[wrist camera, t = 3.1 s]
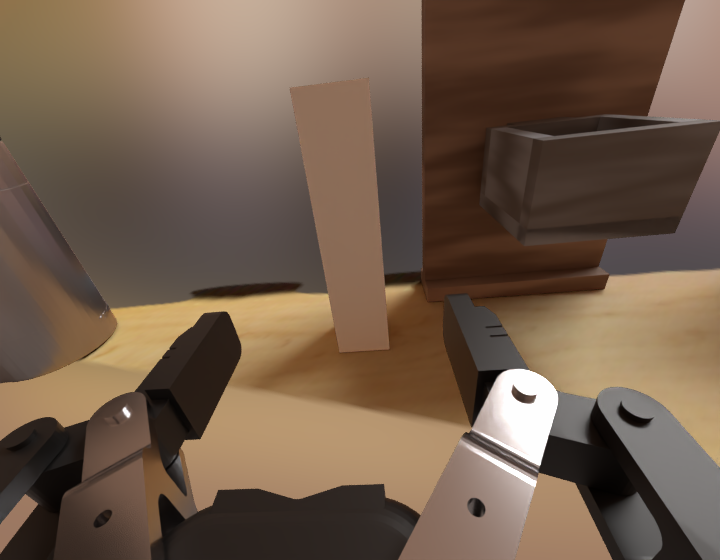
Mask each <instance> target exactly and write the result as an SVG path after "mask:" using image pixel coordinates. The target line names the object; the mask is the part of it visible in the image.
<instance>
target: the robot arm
mask: <svg viewBox="0 0 720 560" xmlns="http://www.w3.org/2000/svg"><path fill="white" fill-rule="evenodd" d="M0 140H1V137H0ZM116 327H117V320H116V318H115V316H114V315H113V313H112V312H111V310H110V308H109V306H108V304H107V303H106V301H104V299H103V298H102V296H101V295H100V293H99V291H98V290H97V288H96V286H95V285H94V283H93V282H92V281H91V279H90V277H89V275H88V274H87V272H86V271H85V269H84V268H83V266H82V264H81V263H80V262H79V260H78V258H77V257H76V255H75V254H74V252H73V251H72V249H71V247H70V246H69V244H68V243H67V241H66V240H65V238H64V236H63V235H62V233H61V232H60V230H59V229H58V227H57V225H56V224H55V222H54V221H53V219H52V218H51V216H50V215H49V213H48V211H47V210H46V208H45V207H44V205H43V204H42V202H41V201H40V199H39V197H38V196H37V194H36V193H35V191H34V190H33V188H32V186H31V185H30V184H29V182H28V180H27V179H26V177H25V176H24V174H23V172H22V171H21V169H20V168H19V166H18V165H17V163H16V161H15V160H14V158H13V157H12V155H11V154H10V152H9V150H8V149H7V147H6V146H5V144H4V143H3V142H0V383H5V382H18V381H24V380H29V379H33V378H36V377H39V376H42V375H45V374H48V373H51V372H53V371H56V370H59V369H61V368H63V367H65V366H67V365H69V364H71V363H73V362H75V361H77V360H79V359H80V358H82V357H84V356H86V355H87V354H89V353H90V352H92V351H93V350H95V349H96V348H98V347H99V346H100V345H101V344H102V343H104V342H105V341H106V340H107V339H108V338H109V337H110V336H111V335H112V334H113V332H114V331H115V329H116ZM443 337H444V343H445V347H446V350H447V353H448V356H449V359H450V362H451V365H452V369H453V372H454V375H455V378H456V381H457V384H458V387H459V390H460V393H461V397H462V400H463V403H464V406H465V409H466V412H467V415H468V418H469V421H470V425H471V427H472V429H471V431H470V433H467V432H466V433H464V434H463V436H462V437H461V439H460V440H459V442H458V444H457V446H456V448H455V450H454V452H453V454H452V456H451V458H450V460H449V462H448V464H447V466H446V468H445V470H444V471H443V473H442V475H441V477H440V479H439V481H438V483H437V485H436V487H435V489H434V491H433V493H432V495H431V497H430V499H429V501H428V502H427V504H426V506H425V508H424V510H423V512H422V514H421V515H419V514H418V513H417V512H416V511H414V510H413V509H411V508H409V507H408V506H406V505H404V504H402V503H400V502H398V501H395V500H392V499H389V498H386V497H385V490H384V484H374V485H349V486H348V485H347V486H340V487H336V488H333V489H330V490H327V491H324V492H321V493H318V494H315V495H312V496H309V497H306V498H303V499H292V498H288V497H285V496H281V495H278V494H274V493H271V492H267V491H264V490H261V489H235V490H218V492H217V495H216V498H215V500H214V503H213V505H212V506H210V507H208V508H205V509H203V510H201V511H199V512H198V511H197V508H196V506H195V503H194V499H193V494H192V490H191V485H190V481H189V476H188V471H187V467H186V462H185V457H184V453H183V451H182V450H181V448H180V447H181V446H182V444H183V442H184V440H194V439H201V437H202V435H203V433H204V431H205V429H206V427H207V425H208V423H209V420H210V418H211V416H212V414H213V412H214V410H215V408H216V406H217V404H218V402H219V400H220V398H221V396H222V394H223V392H224V390H225V388H226V386H227V384H228V382H229V380H230V378H231V376H232V374H233V372H234V370H235V368H236V366H237V364H238V362H239V360H240V357H241V343H240V340H239V338H238V335H237V333H236V330H235V328H234V325H233V323H232V320H231V318H230V315H229V314H228V313H227V312H212V313H204V314H203V315H202V316H201V317H200V318H199V320H198V321H197V322H196V324H195V325H194V326H193V327H191V328H190V329H188V330H187V331H186V332H184V333H183V334H182V335H180V336H179V337H178V338H177V339H176V340H175V342H174V343H173V344H172V345H171V347H170V350H167V352H166V353H165V354H164V355H163V357H162V359H160V360H159V362H158V363H157V364H156V365H155V367H154V368H153V369H152V370H151V372H150V373H149V374H148V375H147V377H146V378H145V379H144V380H143V382H142V383H141V384H140V386H139V387H138V388H137V389H136V390H135V392H130V393H126V394H123V395H120V396H118V397H116V398H114V399H112V400H110V401H109V402H107V403H106V404H104V405H103V406H102V407H101V408H99V409H98V410H97V411H96V412H95V413H94V415H93V416H92V417H91V418H90V420H88V421H84V422H81V423H78V424H75V425H72V426H69V427H65V428H64V427H63V426H62V425H61V424H60V423H59V422H58V421H57V420H56V419H54V418H51V417H45V418H40V419H37V420H34V421H31V422H29V423H27V424H25V425H23V426H21V427H19V428H18V429H16V430H14V431H13V432H11V433H10V434H9V435H7V436H6V437H5V438H3V439H2V440H1V441H0V524H1V522H2V521H3V520H4V519H5V518H6V516H7V515H8V514H9V513H10V511H11V510H12V509H13V508H14V507H15V505H16V504H17V503H18V502H19V501H20V499H21V498H22V497H23V496H24V495H25V494H26V495H28V496H29V497H30V498H32V499H33V500H34V501H35V502H37V503H38V505H37V507H36V508H35V509H34V510H33V512H32V513H31V514H30V516H29V517H28V519H27V520H26V521H25V522H24V524H23V525H22V526H21V527H20V529H19V530H18V531H17V533H16V534H15V535H14V537H13V538H12V539H11V540H10V542H9V543H8V544H7V546H6V547H5V548H4V550H3V551H2V553H1V554H0V560H515V557H516V553H517V549H518V546H519V542H520V539H521V535H522V532H523V528H524V524H525V520H526V517H527V513H528V510H529V506H530V503H531V499H532V495H533V492H534V488H535V485H536V481H537V477H538V473H542V474H546V475H549V476H553V477H556V478H560V479H563V480H567V481H570V482H574V483H576V485H577V487H578V489H579V491H580V494H581V495H582V498H583V500H584V501H585V504H586V506H587V508H588V510H589V512H590V514H591V516H592V518H593V520H594V522H595V524H596V526H597V529H598V531H599V532H600V535H601V537H602V539H603V541H604V543H605V545H606V547H607V549H608V551H609V553H610V555H611V557H612V559H613V560H720V467H719V466H718V465H717V464H716V463H715V462H714V461H713V460H712V459H711V457H710V456H709V455H708V454H707V453H706V452H705V451H704V450H703V448H702V447H701V446H700V445H699V444H698V443H697V442H696V441H695V440H694V438H693V437H692V436H691V435H690V434H689V433H688V432H687V431H686V430H685V428H684V427H683V426H682V425H681V424H680V423H679V422H678V421H677V420H676V418H675V417H674V416H673V415H672V414H671V413H670V412H669V411H668V410H667V409H666V408H665V407H664V406H663V405H662V404H660V403H659V402H657V401H656V400H654V399H653V398H651V397H649V396H647V395H645V394H643V393H641V392H638V391H635V390H632V389H628V388H623V387H610V388H606V389H604V390H602V391H601V392H600V393H599V395H598V397H597V399H592V398H587V397H582V396H577V395H572V394H567V393H563V392H560V391H557V390H555V389H554V387H553V386H552V385H551V384H550V383H549V382H548V381H547V380H546V379H544V378H543V377H542V376H540V375H538V374H536V373H533V372H531V371H530V370H529V369H528V367H527V366H526V364H525V362H524V361H523V359H522V357H521V356H520V354H519V352H518V351H517V349H516V347H515V346H514V344H513V342H512V341H511V339H510V337H508V334H507V332H506V331H505V329H504V328H503V327H502V324H501V323H500V321H499V319H498V318H497V316H496V315H495V314H494V313H493V312H491V311H490V310H489V309H487V308H486V307H485V306H479V307H474V305H473V303H472V301H471V299H470V297H469V295H468V294H467V293H463V294H450V295H445V297H444V316H443Z"/></svg>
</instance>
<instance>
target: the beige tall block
mask: <svg viewBox="0 0 720 560" xmlns="http://www.w3.org/2000/svg"><path fill="white" fill-rule="evenodd" d="M290 93H291V98H292V103H293V108H294V113H295V119H296V124H297V130H298V135H299V140H300V146H301V151H302V156H303V162H304V167H305V172H306V178H307V183H308V188H309V193H310V199H311V204H312V210H313V214H314V220H315V225H316V231H317V236H318V241H319V247H320V252H321V257H322V263H323V268H324V273H325V278H326V284H327V289H328V295H329V300H330V305H331V311H332V316H333V321H334V327H335V332H336V337H337V342H338V348H339V353H342V352H357V351H372V350H387V349H390V348H389V335H388V322H387V309H386V296H385V283H384V270H383V258H382V244H381V230H380V217H379V204H378V191H377V178H376V166H375V152H374V140H373V126H372V114H371V100H370V87H369V78H363V79H356V80H347V81H339V82H332V83H323V84H316V85H308V86H300V87H292V88H290Z"/></svg>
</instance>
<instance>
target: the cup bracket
mask: <svg viewBox="0 0 720 560" xmlns="http://www.w3.org/2000/svg"><path fill="white" fill-rule="evenodd" d="M684 2H685V0H422V218H423V219H422V229H423V230H422V231H423V232H422V233H423V234H422V235H423V237H422V238H423V268H421V282H422V285H423V288H424V292H425V295H426V298H427V302H435V301H444V297H445V295H450V294H463V293H467V294H468V295H469V297H470V299H475V298H488V297H501V296H514V295H527V294H540V293H553V292H566V291H579V290H592V289H605V286H606V283H607V280H608V277H609V274H608V273H607V272H605V271H604V270H603V269H601V268H600V267H599V263H600V260H601V257H602V254H603V251H604V248H605V245H606V242H607V239H613V238H624V237H636V236H648V235H659V234H670V233H675V231H676V229H677V227H678V225H679V222H680V220H681V218H682V215H683V213H684V211H685V209H686V206H687V204H688V202H689V199H690V197H691V195H692V193H693V190H694V188H695V186H696V183H697V181H698V179H699V177H700V174H701V172H702V170H703V167H704V165H705V163H706V161H707V158H708V156H709V154H710V152H711V149H712V147H713V145H714V142H715V140H716V138H717V136H718V133H719V131H720V121H717V120H701V119H683V118H664V117H647V116H648V112H649V109H650V106H651V103H652V100H653V97H654V94H655V91H656V88H657V85H658V82H659V79H660V75H661V72H662V69H663V66H664V63H665V60H666V57H667V54H668V51H669V48H670V44H671V42H672V39H673V35H674V32H675V29H676V26H677V23H678V20H679V17H680V13H681V11H682V8H683V5H684Z"/></svg>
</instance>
